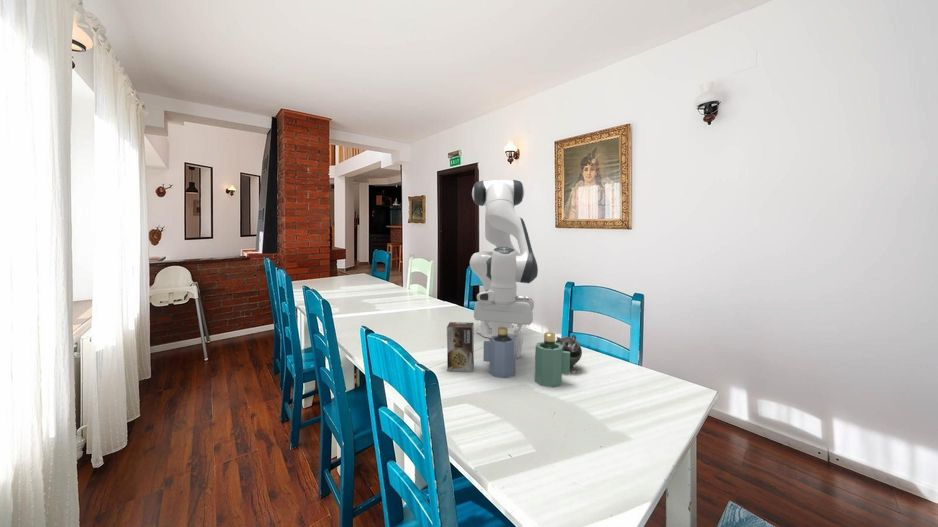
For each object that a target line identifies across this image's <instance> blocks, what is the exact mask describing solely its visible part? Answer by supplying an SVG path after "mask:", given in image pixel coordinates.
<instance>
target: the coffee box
mask: <svg viewBox="0 0 938 527" xmlns="http://www.w3.org/2000/svg"><path fill="white" fill-rule="evenodd" d="M474 326H475V325H474V322H466V321H465V322H462V321H460V322H459V321H457V322H456V321H454V322H453V321H449V322H448V324H447V326H446V347H447V348H446V349H447V351H446V352H447V353H446V354H447V358H446V360H447V361H446V362H447V368H446V369H447V371H448V372H469V373H470V372H471V373H472V372H474V368H475V364H474V362H475V360H474V359H475V357H474V354H475V352H474V351H475V350H474V346H475V345H474V344H475V341H474V340H475V339H474V329H475V328H474Z"/></svg>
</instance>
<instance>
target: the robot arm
mask: <svg viewBox="0 0 938 527" xmlns="http://www.w3.org/2000/svg"><path fill="white" fill-rule="evenodd" d="M471 196H472V200H473V203H474V204H475V205H477V206H480V207H481V206H482V207H483V206H485V213H484V237H485V240H486V241H487V242H488V243H490V244H492V245H493V246H495V248H493V250H492V251H486V250H485V251H478V252H475V253H473V254H472V255H471V257H470V260H469V267H470V269H471V271H472V272H473V274H474V275H476V276H477V277H478V278H479V280H480V281H481V284H482V286H483V289H484V290H483V291H480V292H479V293H477V294H476V300H477V301H476V302H475V303H474V307H473V318H474V320H475V321H479V322H480V323H479V329H478V330H476V334H479V335H481V336H482V337H484V338H488V339H490V338H491V337H492V336H498V327H508V328H517V330H515V331H514V336H516V337H518V336H519V330H520V329H521V330H522V327H523V325H525V326H526V325H528V326H529V325H531V324H532V323H533V322H534V314H533V313H534V312H533V310H534V307H535V301H534V300H533V298H531V297H529V296H521V295H517V288H518V287H517V286H518V285H517V283H522V284H531V283H532V282H533V281H535V279H536V278H537V277H538V274H539V266H538V262H537V259H536V257H535V254H534V251H533V248H532V244H531V240H530V236H529V232H528V229H527V226H526V224H525V221H524V219H523V218H522V217H521V216H519V214H517V212H516V210H515V207H516V206H518V205H520V204H521V203H522V202H523V200H524V197H525V188H524V185H523V183H522V181H520V180H517V179H511V180H510V179H494V180H480V181H479V180H478V181H476V182H475V183H474V184H473V187H472V191H471ZM511 236H513V237H514V238H515V239H516V240H517V244H518V248H519V251H520V252H518V251H517V249H516V248H515V246H514V245H513V242H512V240H511ZM516 325H517V326H516Z"/></svg>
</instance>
